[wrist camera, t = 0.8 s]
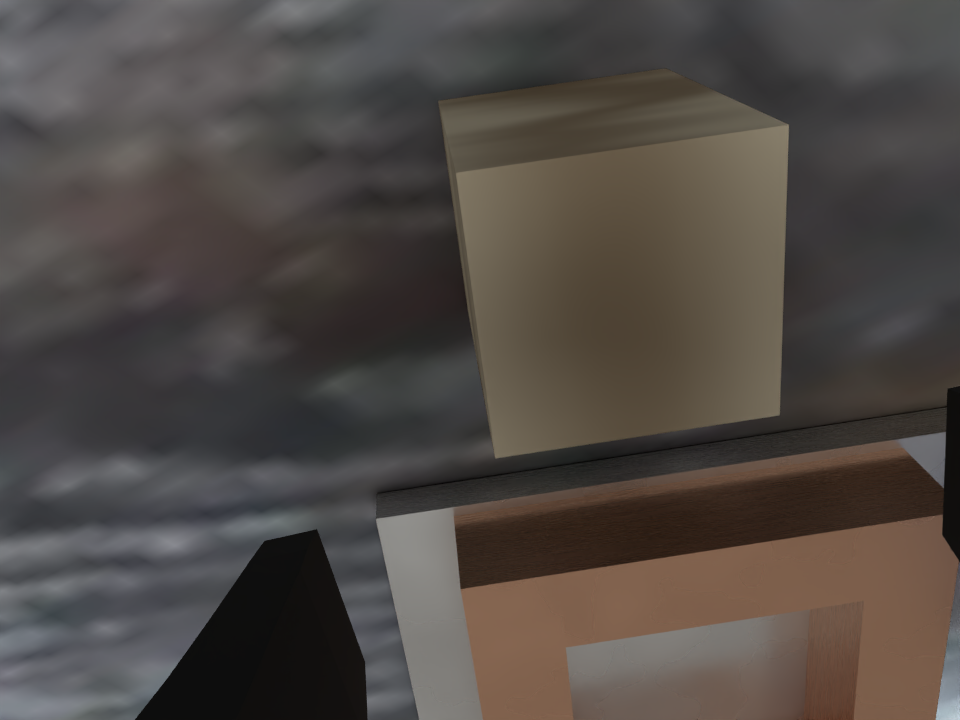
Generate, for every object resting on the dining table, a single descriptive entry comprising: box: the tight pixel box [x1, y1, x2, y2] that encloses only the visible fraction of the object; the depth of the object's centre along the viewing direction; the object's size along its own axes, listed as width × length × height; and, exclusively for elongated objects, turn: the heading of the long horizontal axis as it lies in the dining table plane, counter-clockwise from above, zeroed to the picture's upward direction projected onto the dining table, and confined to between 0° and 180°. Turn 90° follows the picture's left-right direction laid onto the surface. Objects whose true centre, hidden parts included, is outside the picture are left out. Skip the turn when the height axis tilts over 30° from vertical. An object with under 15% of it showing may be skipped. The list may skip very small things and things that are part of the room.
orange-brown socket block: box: [376, 407, 959, 720], centre depth 22 cm, size 14×11×4 cm
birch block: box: [438, 68, 789, 458], centre depth 15 cm, size 4×4×6 cm
